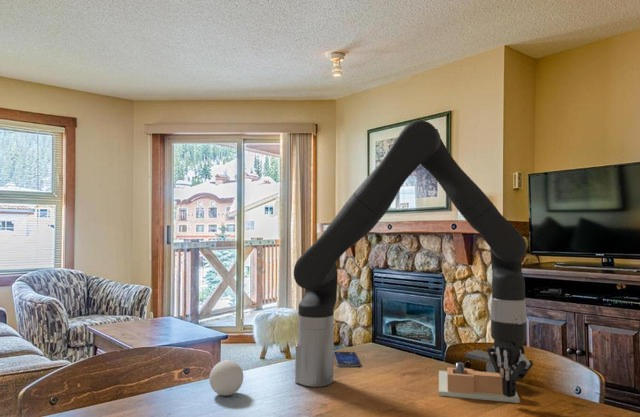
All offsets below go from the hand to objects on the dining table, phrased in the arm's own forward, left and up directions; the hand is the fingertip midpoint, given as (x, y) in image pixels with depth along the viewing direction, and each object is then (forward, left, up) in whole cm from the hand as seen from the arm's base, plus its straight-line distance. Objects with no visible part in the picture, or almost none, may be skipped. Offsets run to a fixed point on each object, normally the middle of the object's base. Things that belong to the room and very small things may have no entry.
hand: (509, 395), depth 108 cm
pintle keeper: (-5, +13, -2) cm, 14 cm away
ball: (-64, -10, -3) cm, 65 cm away
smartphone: (-42, +27, -3) cm, 50 cm away
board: (-6, +11, -2) cm, 13 cm away
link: (-6, +6, -1) cm, 9 cm away
